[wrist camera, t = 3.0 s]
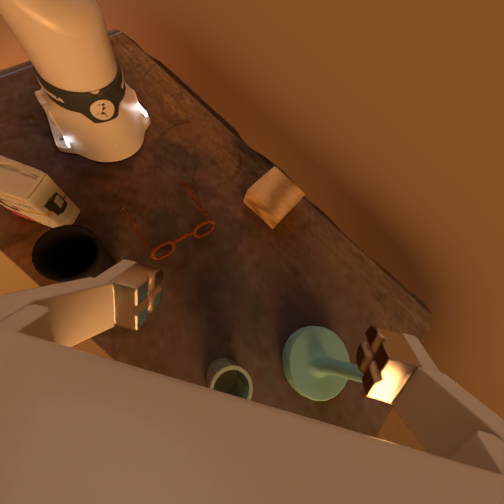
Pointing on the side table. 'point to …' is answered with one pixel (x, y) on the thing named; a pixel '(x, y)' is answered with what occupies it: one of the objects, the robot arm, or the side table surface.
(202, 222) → the glasses
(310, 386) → the mug tree
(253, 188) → the block
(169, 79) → the side table surface
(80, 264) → the cup
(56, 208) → the ink box
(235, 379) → the tumbler
